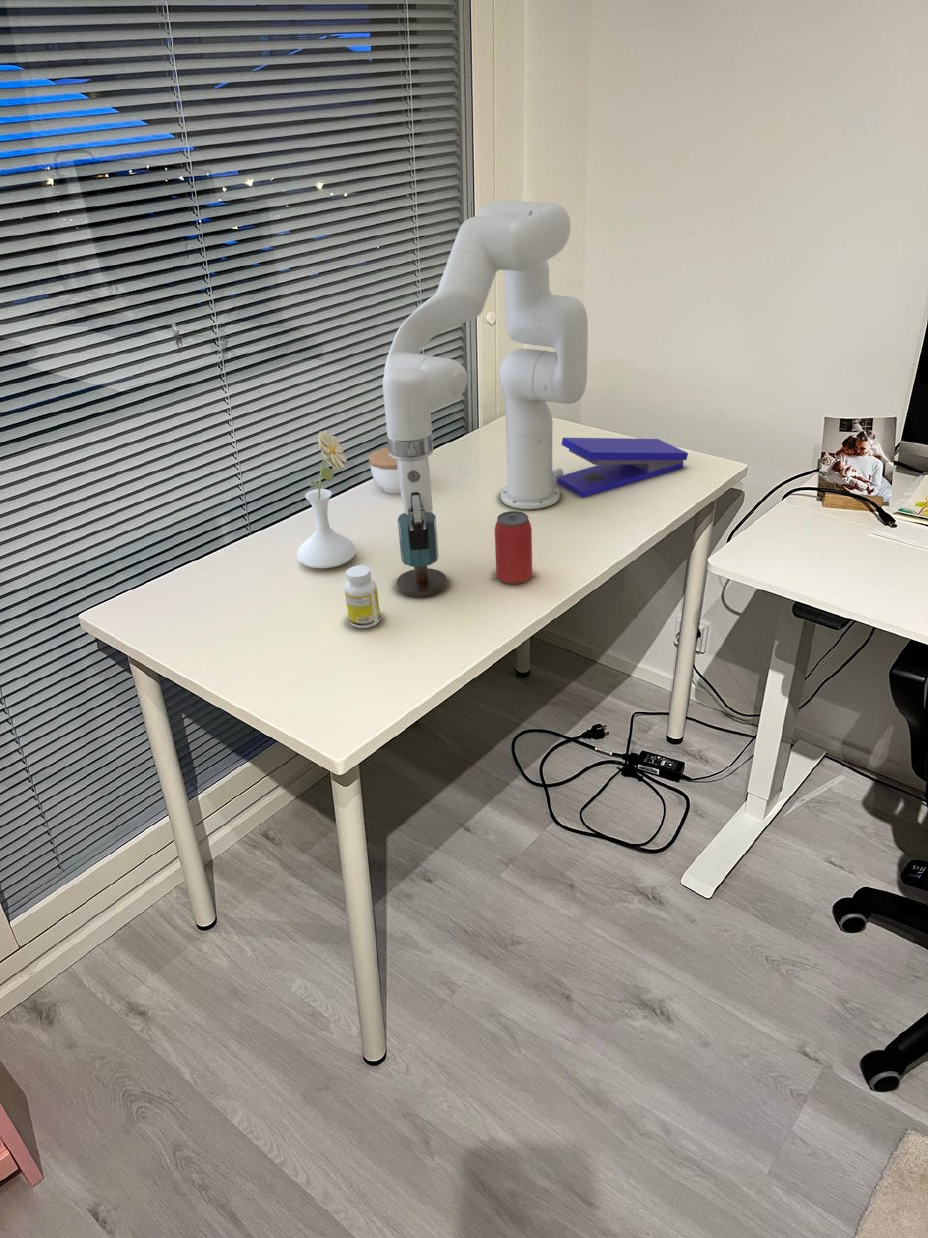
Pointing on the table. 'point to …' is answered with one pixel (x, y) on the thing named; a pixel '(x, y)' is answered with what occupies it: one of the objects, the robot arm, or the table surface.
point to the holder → (421, 582)
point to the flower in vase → (325, 515)
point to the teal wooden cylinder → (418, 556)
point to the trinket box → (385, 471)
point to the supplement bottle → (361, 598)
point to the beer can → (513, 547)
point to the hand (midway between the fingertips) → (418, 538)
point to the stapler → (618, 462)
